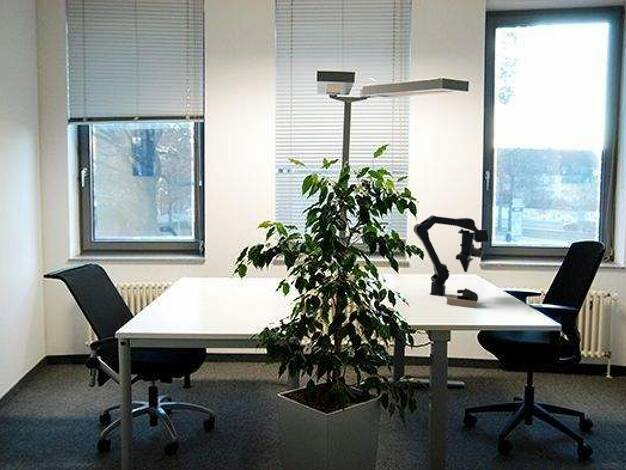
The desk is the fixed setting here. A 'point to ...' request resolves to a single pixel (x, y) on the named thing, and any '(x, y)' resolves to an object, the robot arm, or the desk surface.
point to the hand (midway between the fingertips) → (465, 272)
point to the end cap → (467, 295)
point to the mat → (463, 303)
